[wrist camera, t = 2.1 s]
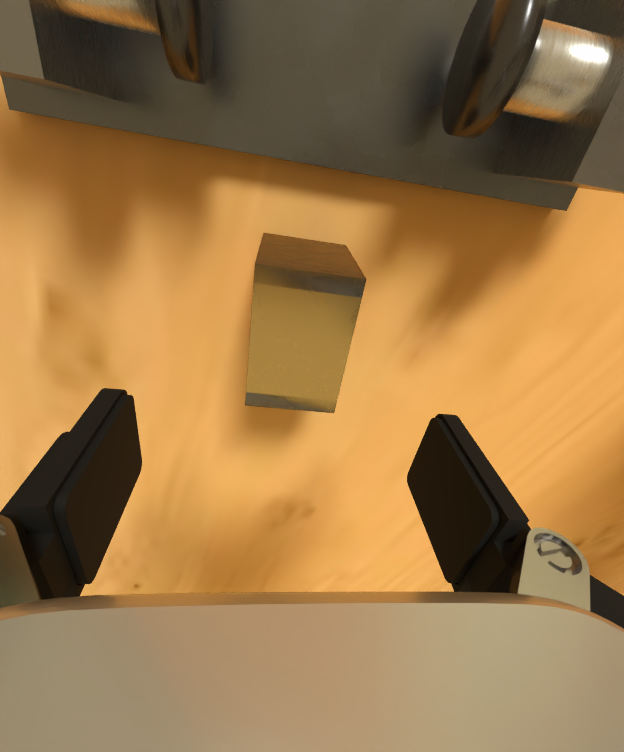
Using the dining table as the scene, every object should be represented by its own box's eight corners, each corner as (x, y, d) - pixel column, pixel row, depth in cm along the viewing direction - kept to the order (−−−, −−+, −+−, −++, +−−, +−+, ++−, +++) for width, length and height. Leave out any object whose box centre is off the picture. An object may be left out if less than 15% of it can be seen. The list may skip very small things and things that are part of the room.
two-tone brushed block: (263, 232, 19) (254, 263, 14) (345, 245, 19) (366, 278, 14) (254, 347, 22) (245, 405, 17) (323, 355, 23) (334, 413, 18)
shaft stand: (673, 5, 15) (910, -84, 9) (570, 211, 19) (689, 236, 13) (-81, -208, 11) (-461, -576, 5) (-1, 107, 15) (-169, 82, 10)
